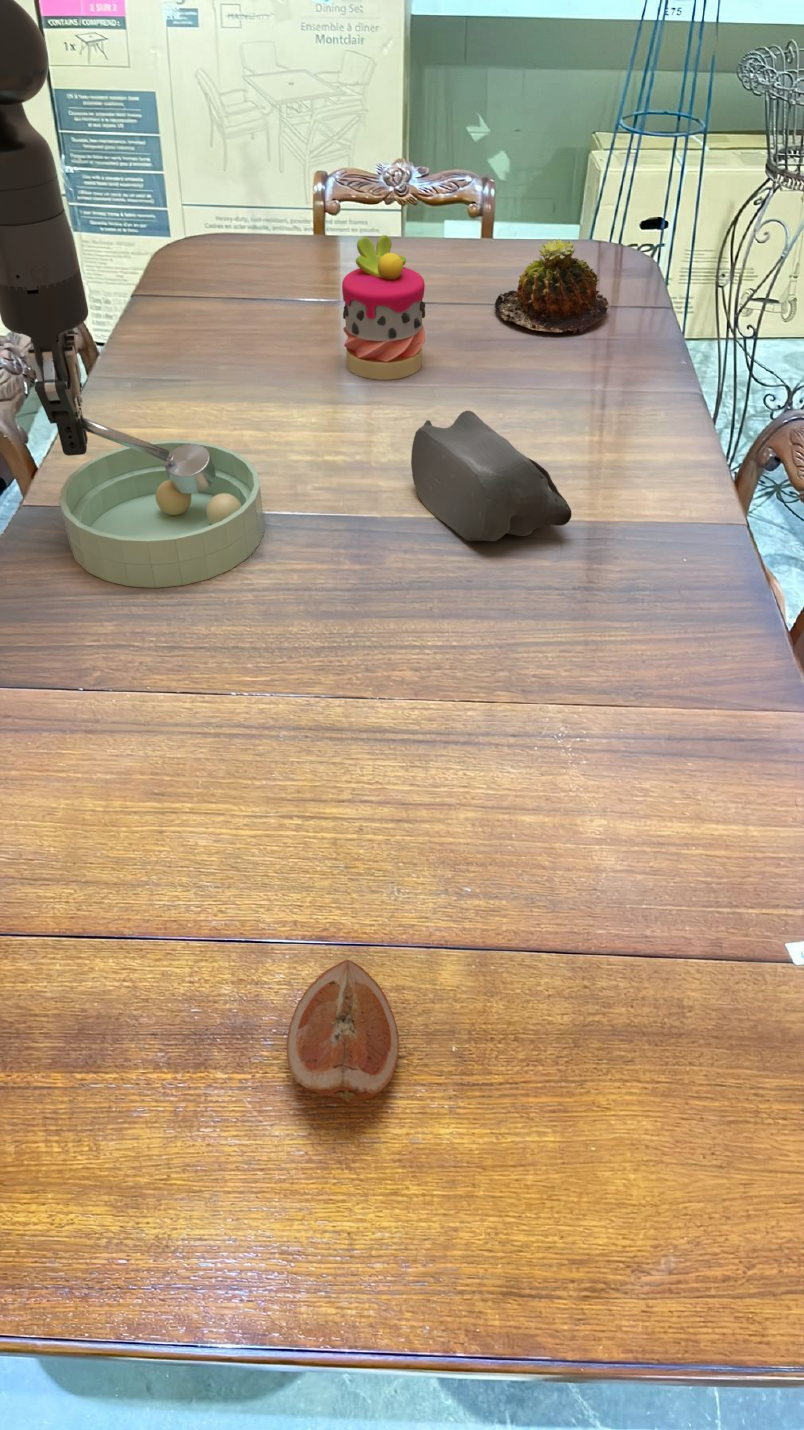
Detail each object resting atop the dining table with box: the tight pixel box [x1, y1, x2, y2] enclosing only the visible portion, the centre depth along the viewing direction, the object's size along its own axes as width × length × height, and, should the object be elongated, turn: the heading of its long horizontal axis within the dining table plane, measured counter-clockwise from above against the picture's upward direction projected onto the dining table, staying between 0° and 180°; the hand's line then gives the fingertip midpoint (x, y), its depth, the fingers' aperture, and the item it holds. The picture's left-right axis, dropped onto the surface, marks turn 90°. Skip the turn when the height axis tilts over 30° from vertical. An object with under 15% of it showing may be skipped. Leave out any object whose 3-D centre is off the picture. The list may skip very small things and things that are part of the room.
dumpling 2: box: [206, 493, 242, 525], centre depth 108 cm, size 4×4×4 cm
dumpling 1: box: [156, 480, 192, 515], centre depth 111 cm, size 4×4×4 cm
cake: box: [341, 234, 426, 381], centre depth 136 cm, size 10×11×15 cm
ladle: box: [80, 416, 216, 494], centre depth 105 cm, size 14×5×10 cm, turn 89°
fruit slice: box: [286, 959, 400, 1102], centre depth 64 cm, size 8×7×5 cm
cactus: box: [494, 238, 610, 335], centre depth 150 cm, size 17×16×10 cm
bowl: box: [58, 439, 265, 589], centre depth 107 cm, size 19×19×6 cm
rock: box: [410, 410, 572, 542], centre depth 111 cm, size 18×11×8 cm, turn 29°
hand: (76, 448), depth 105 cm, fingers closed on ladle, 1 cm apart
